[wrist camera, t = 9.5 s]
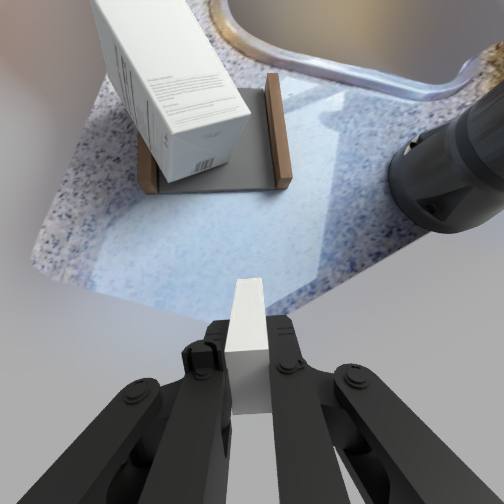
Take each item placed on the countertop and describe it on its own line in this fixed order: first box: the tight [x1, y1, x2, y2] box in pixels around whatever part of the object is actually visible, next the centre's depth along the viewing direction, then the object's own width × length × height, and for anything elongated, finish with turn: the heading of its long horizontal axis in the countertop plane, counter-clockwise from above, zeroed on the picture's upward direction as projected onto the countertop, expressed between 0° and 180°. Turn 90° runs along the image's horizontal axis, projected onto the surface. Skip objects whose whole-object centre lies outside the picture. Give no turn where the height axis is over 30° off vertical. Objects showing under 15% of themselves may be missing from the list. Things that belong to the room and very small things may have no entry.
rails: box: [137, 73, 293, 194], centre depth 31 cm, size 18×16×3 cm
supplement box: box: [90, 0, 251, 183], centre depth 26 cm, size 9×9×15 cm
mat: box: [159, 88, 275, 194], centre depth 32 cm, size 15×16×1 cm
